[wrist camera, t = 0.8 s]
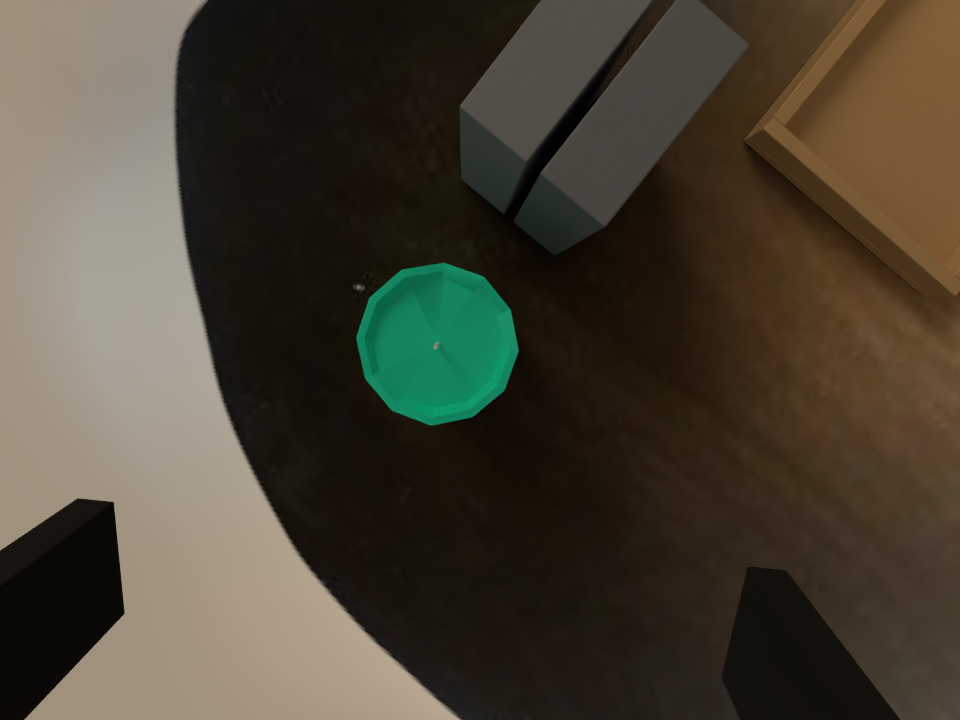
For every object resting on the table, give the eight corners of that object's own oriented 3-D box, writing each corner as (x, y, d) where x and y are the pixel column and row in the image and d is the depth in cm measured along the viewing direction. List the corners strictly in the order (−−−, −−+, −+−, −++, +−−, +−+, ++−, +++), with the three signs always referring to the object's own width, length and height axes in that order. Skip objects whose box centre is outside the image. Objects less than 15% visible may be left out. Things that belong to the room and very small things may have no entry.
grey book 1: (553, 58, 30) (605, -85, 19) (597, 96, 30) (672, -25, 19) (460, 179, 30) (459, 106, 20) (503, 214, 31) (526, 162, 20)
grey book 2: (605, 103, 30) (686, -14, 19) (648, 139, 31) (751, 44, 20) (512, 221, 31) (539, 173, 20) (555, 256, 31) (605, 227, 20)
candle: (495, 390, 32) (515, 439, 20) (388, 382, 31) (341, 427, 19) (504, 282, 31) (530, 265, 19) (395, 273, 31) (352, 250, 19)
